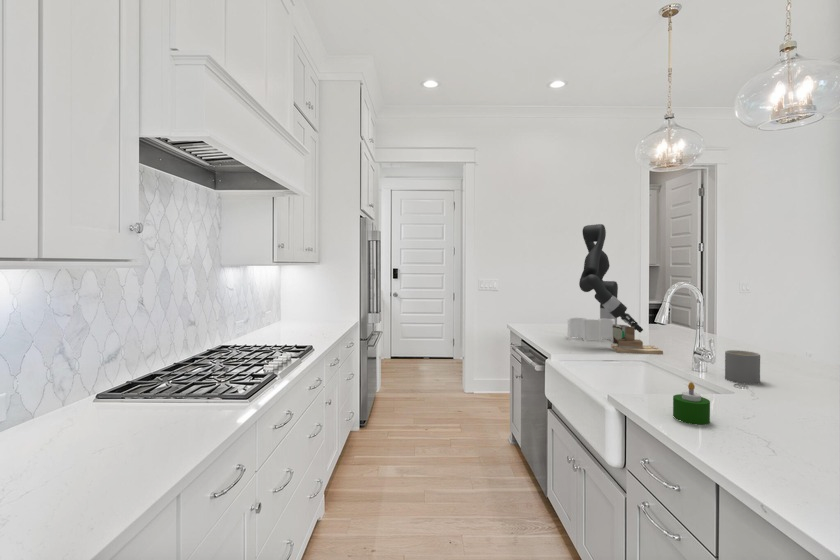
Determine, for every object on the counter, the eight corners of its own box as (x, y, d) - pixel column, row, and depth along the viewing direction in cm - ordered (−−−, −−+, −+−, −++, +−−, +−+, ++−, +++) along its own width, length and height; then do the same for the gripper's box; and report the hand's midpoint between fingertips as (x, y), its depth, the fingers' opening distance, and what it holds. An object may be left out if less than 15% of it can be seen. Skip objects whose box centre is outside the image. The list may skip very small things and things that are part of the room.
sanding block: (617, 345, 209) (617, 326, 209) (639, 346, 207) (639, 326, 207) (620, 348, 204) (620, 327, 203) (642, 348, 201) (642, 328, 201)
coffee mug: (763, 385, 142) (763, 356, 142) (727, 382, 147) (727, 354, 147) (754, 376, 154) (754, 349, 154) (721, 373, 159) (721, 347, 159)
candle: (675, 411, 117) (675, 376, 117) (711, 418, 112) (711, 381, 112) (670, 420, 111) (670, 382, 110) (708, 427, 105) (708, 388, 105)
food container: (634, 346, 216) (634, 327, 216) (622, 346, 217) (622, 327, 216) (623, 342, 229) (623, 324, 229) (612, 342, 229) (612, 324, 229)
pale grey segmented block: (613, 339, 238) (613, 318, 238) (615, 342, 229) (615, 320, 229) (567, 337, 246) (567, 317, 246) (567, 340, 237) (567, 319, 237)
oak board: (611, 347, 214) (611, 344, 214) (654, 348, 209) (654, 345, 209) (617, 352, 200) (617, 349, 200) (663, 354, 195) (663, 351, 195)
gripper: (623, 302, 199) (649, 326, 197) (616, 300, 213) (641, 322, 210) (611, 313, 200) (637, 337, 198) (605, 310, 214) (629, 333, 212)
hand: (639, 329), depth 204 cm, fingers open, 8 cm apart
